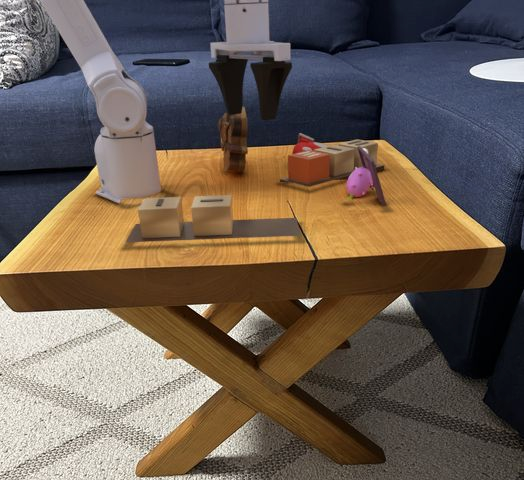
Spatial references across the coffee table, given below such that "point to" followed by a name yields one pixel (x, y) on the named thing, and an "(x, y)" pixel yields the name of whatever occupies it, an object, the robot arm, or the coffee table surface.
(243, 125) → the wooden carving
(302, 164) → the terracotta cube
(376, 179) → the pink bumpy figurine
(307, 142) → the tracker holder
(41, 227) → the coffee table surface
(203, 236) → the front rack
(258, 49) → the robot arm
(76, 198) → the coffee table surface
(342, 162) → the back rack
